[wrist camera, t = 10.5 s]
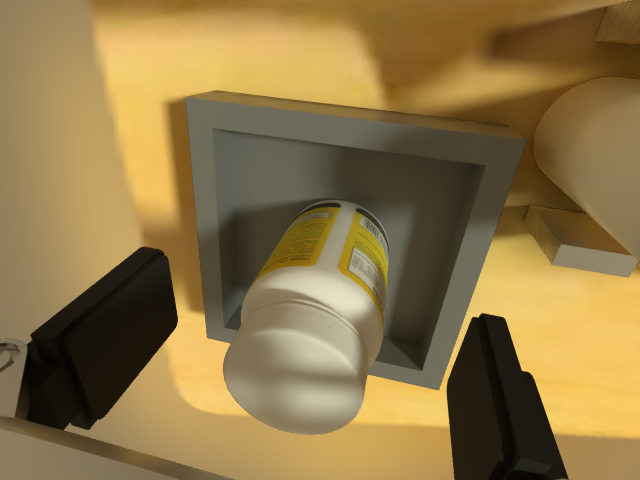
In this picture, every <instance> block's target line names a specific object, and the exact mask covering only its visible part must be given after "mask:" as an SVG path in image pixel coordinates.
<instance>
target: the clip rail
mask: <svg viewBox="0 0 640 480" xmlns="http://www.w3.org/2000/svg"><path fill="white" fill-rule="evenodd" d="M595 41H603V42H615V43H627V44H638V45H640V0H632V1H627V2H623V3H618V4H613V5H609V6H608V8H607V11H606V13H605V16H604V18H603V21H602V23H601V26H600V28H599V31H598V34H597V36H596V39H595ZM524 224H525V225H526V227H527V228H528V230H529V231H530V233H531V234H532V236H533V237H534V239H535V240H536V242H537V243H538V245H539V246H540V248H541V249H542V251H543V252H544V254H545V255H546V257H547V258H548V260H549V261H550V263H551V264H552V265H557V266H563V267H569V268H575V269H581V270H587V271H592V272H598V273H604V274H610V275H616V276H622V277H628V278H629V276H630V275H631V273H632V271H633V270H634V268H635V266H636V265H637V263H638V260H637V259H636V258H635V257H634V256H633V255H632V254H631V253H630V252H629V251H627V250H626V249H625V248H624V247H623V246H622V245H621V244H620V243H619V242H618V241H617V240H616V239H614V238H613V237H612V236H611V235H610V234H609V233H608V232H607V231H606V230H605V229H604V228H603V227H601V226H600V225H599V224H598V223H597V222H596V221H595V220H594V219H593V218H592V217H591V216H590V215H588V214H587V213H581V212H574V211H567V210H560V209H554V208H547V207H540V206H533V205H530V207H529V210H528V212H527V215H526V218H525V220H524Z"/></svg>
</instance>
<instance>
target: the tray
mask: <svg viewBox="0 0 640 480" xmlns="http://www.w3.org/2000/svg"><path fill="white" fill-rule="evenodd" d="M185 98H186V109H187V120H188V131H189V143H190V154H191V165H192V176H193V187H194V198H195V210H196V221H197V232H198V243H199V254H200V265H201V277H202V288H203V299H204V310H205V321H206V332H207V338H209V339H214V340H218V341H222V342H227V343H232V341H233V339H234V337H235V336H236V334H237V332H238V330H239V328H240V326H241V310H242V305H243V302H244V299H245V296H246V294H247V292H248V290H249V289H250V287H251V285H252V284H253V282H254V281H255V279H256V278H257V276H258V274H259V273H260V271H261V270H262V268H263V267H264V265H265V264H266V262H267V260H268V259H269V257H270V256H271V254H272V253H273V251H274V250H275V248H276V247H277V245H278V244H279V242H280V240H281V239H282V237H283V236H284V234H285V233H286V231H287V229H288V228H289V227H290V225H291V223H292V222H293V220H294V219H295V218H296V217H297V215H298V214H299V213H300V212H301V211H302V210H304V209H305V208H306V207H308V206H310V205H312V204H314V203H316V202H319V201H324V200H344V201H349V202H353V203H356V204H358V205H360V206H362V207H364V208H365V209H367V210H368V211H370V212H371V213H372V214H373V215H374V216H375V217H376V218H377V219H378V220H379V221H380V223H381V224H382V226H383V228H384V230H385V232H386V235H387V238H388V243H389V257H388V273H387V289H386V303H385V318H384V333H383V340H382V344H381V347H380V351H379V353H378V355H377V357H376V359H375V361H374V362H373V363H372V365H371V366H370V367H369V368H368V375H373V376H377V377H382V378H386V379H390V380H395V381H399V382H404V383H408V384H412V385H417V386H421V387H426V388H430V389H435V390H439V388H440V385H441V383H442V380H443V377H444V374H445V371H446V368H447V366H448V363H449V360H450V357H451V354H452V352H453V349H454V346H455V343H456V340H457V337H458V335H459V332H460V329H461V326H462V323H463V320H464V318H465V315H466V312H467V309H468V306H469V303H470V301H471V298H472V295H473V292H474V289H475V287H476V284H477V281H478V278H479V275H480V272H481V270H482V267H483V264H484V261H485V258H486V255H487V253H488V250H489V247H490V244H491V241H492V238H493V236H494V233H495V230H496V227H497V224H498V222H499V219H500V216H501V213H502V210H503V207H504V205H505V202H506V199H507V196H508V193H509V190H510V188H511V185H512V182H513V179H514V176H515V173H516V171H517V168H518V165H519V162H520V159H521V156H522V154H523V151H524V148H525V145H526V142H527V139H526V138H525V137H523V136H522V135H521V134H519V133H518V132H517V131H515V130H514V129H513V128H511V127H510V126H509V125H500V124H492V123H484V122H475V121H467V120H458V119H450V118H442V117H433V116H425V115H417V114H408V113H400V112H392V111H383V110H375V109H367V108H358V107H350V106H342V105H333V104H325V103H317V102H308V101H300V100H292V99H283V98H275V97H267V96H258V95H250V94H242V93H233V92H225V91H217V90H216V91H211V92H207V93H202V94H198V95H193V96H189V97H185Z"/></svg>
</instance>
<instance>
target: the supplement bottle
mask: <svg viewBox="0 0 640 480" xmlns="http://www.w3.org/2000/svg"><path fill="white" fill-rule="evenodd" d="M388 257H389V243H388V238H387V235H386V232H385V230H384V228H383V226H382V224H381V223H380V221H379V220H378V219H377V218H376V217H375V216H374V215H373V214H372V213H371V212H370V211H368V210H367V209H365V208H364V207H362V206H360V205H358V204H356V203H353V202H349V201H344V200H324V201H319V202H316V203H314V204H312V205H310V206H308V207H306V208H305V209H304V210H302V211H301V212H300V213H299V214H298V215H297V217H296V218H295V219H294V220H293V222H292V223H291V225H290V227H289V228H288V229H287V231H286V233H285V234H284V236H283V237H282V239H281V240H280V242H279V244H278V245H277V247H276V248H275V250H274V251H273V253H272V254H271V256H270V257H269V259H268V260H267V262H266V264H265V265H264V267H263V268H262V270H261V271H260V273H259V274H258V276H257V278H256V279H255V281H254V282H253V284H252V285H251V287H250V289H249V290H248V292H247V294H246V296H245V299H244V302H243V305H242V310H241V326H240V328H239V330H238V332H237V334H236V336H235V337H234V339H233V341H232V343H231V345H230V346H229V348H228V350H227V352H226V355H225V358H224V363H223V374H224V380H225V382H226V385H227V388H228V390H229V392H230V393H231V395H232V397H233V398H234V399H235V400H236V401H237V403H238V404H239V405H240V406H241V407H242V408H243V409H244V410H245V411H246V412H248V413H249V414H250V415H252V416H253V417H254V418H256V419H258V420H259V421H261V422H263V423H265V424H267V425H269V426H271V427H274V428H276V429H279V430H283V431H286V432H290V433H296V434H304V435H315V434H324V433H329V432H332V431H335V430H338V429H340V428H342V427H344V426H346V425H347V424H348V423H350V422H351V421H352V420H353V419H354V418H355V416H356V415H357V413H358V412H359V410H360V408H361V405H362V402H363V397H364V391H365V385H366V379H367V375H368V368H369V367H370V366H371V365H372V363H373V362H374V361H375V359H376V357H377V355H378V353H379V351H380V347H381V344H382V340H383V333H384V318H385V303H386V289H387V273H388Z"/></svg>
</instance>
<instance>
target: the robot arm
mask: <svg viewBox="0 0 640 480" xmlns="http://www.w3.org/2000/svg"><path fill="white" fill-rule="evenodd" d="M177 323H178V316H177V310H176V304H175V298H174V292H173V286H172V280H171V274H170V268H169V262H168V258H167V256H165V255H164V253H163V251H162V250H159V249H154V248H149V247H141V248H139V249H138V250H137V251H135V252H134V253H133V254H132V255H130V256H129V257H128V258H127V259H125V260H124V261H123V262H121V263H120V264H119V265H118V266H116V267H115V268H114V269H113V270H111V271H110V272H109V273H108V274H106V275H105V276H104V277H103V278H101V279H100V280H99V281H97V282H96V283H95V284H94V285H92V286H91V287H90V288H89V289H87V290H86V291H85V292H84V293H82V294H81V295H80V296H78V297H77V298H76V299H75V300H74V301H72V302H71V303H70V304H68V305H67V306H66V307H65V308H63V309H62V310H61V311H59V312H58V313H57V314H56V315H54V316H53V317H52V318H51V319H49V320H48V321H47V322H45V323H44V324H43V325H42V326H40V327H39V328H38V329H37V330H35V331H34V332H33V333H32V334H31V337H32V341H31V342H29V343H28V344H27V345H26V344H25V343H24V342H23V341H22V340H19V339H13V338H6V339H0V480H234V479H231V478H227V477H224V476H220V475H217V474H214V473H210V472H207V471H203V470H200V469H196V468H193V467H190V466H186V465H183V464H179V463H176V462H172V461H169V460H165V459H162V458H159V457H155V456H152V455H148V454H145V453H141V452H138V451H134V450H131V449H127V448H123V447H120V446H117V445H113V444H110V443H106V442H103V441H99V440H96V439H92V438H89V437H85V436H81V435H78V434H75V433H71V432H67V431H64V429H65V428H66V427H67V425H68V424H69V423H71V425H73V426H76V427H80V428H83V429H86V430H89V429H90V428H91V427H92V426H93V424H94V423H95V422H96V421H97V419H98V420H99V419H102V418H103V417H104V416H105V415H106V414H107V413H108V412H109V411H110V409H111V408H112V407H113V405H114V404H115V403H116V402H117V401H118V399H119V398H120V397H121V396H122V394H123V393H124V392H125V391H126V389H127V388H128V387H129V386H130V384H131V383H132V382H133V381H134V379H135V378H136V377H137V376H138V374H139V373H140V372H141V371H142V369H143V368H144V367H145V366H146V365H147V363H148V362H149V361H150V360H151V358H152V357H153V355H155V353H156V352H157V351H158V349H159V348H160V347H161V346H162V345H163V343H164V342H165V341H166V340H167V338H168V337H169V336H170V335H171V333H172V332H173V331H174V330H175V328H176V326H177ZM447 402H448V413H449V424H450V435H451V445H452V457H453V467H454V479H455V480H569V479H568V476H567V473H566V470H565V467H564V464H563V461H562V459H561V456H560V453H559V450H558V447H557V444H556V441H555V438H554V435H553V432H552V429H551V427H550V424H549V421H548V418H547V415H546V412H545V409H544V406H543V403H542V401H541V398H540V395H539V392H538V389H537V386H536V383H535V380H534V378H533V376H532V375H531V374H530V373H529V372H525V371H522V370H521V367H520V364H519V361H518V357H517V354H516V351H515V348H514V345H513V342H512V339H511V335H510V332H509V329H508V326H507V323H506V320H505V318H503V317H499V316H494V315H489V314H484V313H482V314H481V315H480V316H479V318H477V317H473V318H472V319H471V322H470V324H469V327H468V330H467V332H466V335H465V337H464V340H463V343H462V345H461V348H460V350H459V353H458V355H457V358H456V361H455V363H454V366H453V368H452V371H451V374H450V376H449V379H448V383H447Z"/></svg>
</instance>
